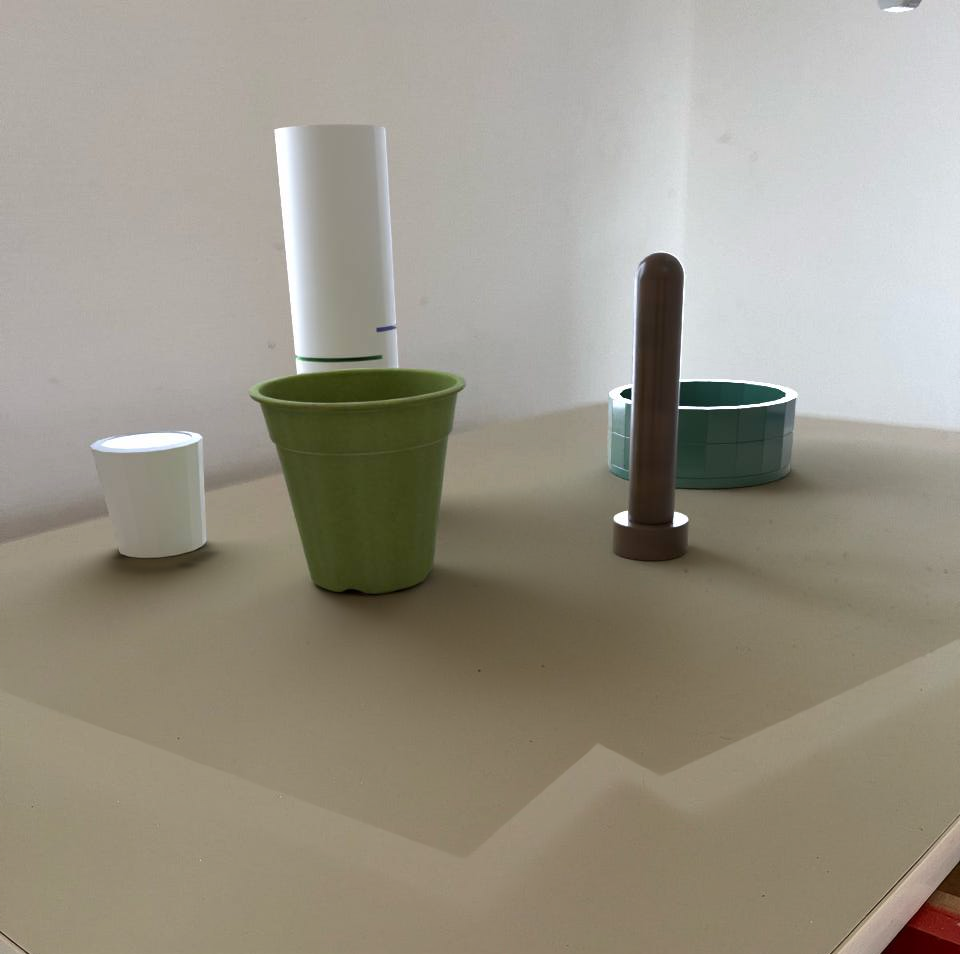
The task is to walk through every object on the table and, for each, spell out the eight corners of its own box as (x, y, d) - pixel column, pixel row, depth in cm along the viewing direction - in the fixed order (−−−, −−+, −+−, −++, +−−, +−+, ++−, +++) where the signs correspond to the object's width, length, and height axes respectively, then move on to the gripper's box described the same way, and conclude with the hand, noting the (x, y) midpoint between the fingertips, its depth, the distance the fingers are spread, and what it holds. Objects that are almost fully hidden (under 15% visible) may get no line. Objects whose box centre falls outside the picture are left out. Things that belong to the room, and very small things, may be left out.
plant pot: (227, 590, 59) (201, 391, 55) (359, 537, 68) (346, 363, 64) (388, 627, 53) (374, 407, 49) (510, 564, 62) (507, 373, 58)
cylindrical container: (425, 499, 77) (407, 128, 68) (366, 522, 72) (337, 122, 62) (350, 488, 81) (324, 135, 71) (289, 510, 75) (251, 130, 66)
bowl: (690, 441, 94) (694, 374, 92) (827, 467, 83) (835, 392, 81) (571, 466, 86) (572, 393, 84) (705, 499, 75) (710, 416, 73)
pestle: (648, 534, 67) (659, 249, 60) (702, 550, 64) (719, 250, 57) (597, 548, 65) (602, 253, 58) (650, 565, 61) (662, 253, 55)
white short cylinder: (158, 566, 64) (140, 454, 61) (85, 551, 67) (66, 444, 64) (237, 538, 69) (224, 433, 66) (166, 525, 72) (151, 425, 70)
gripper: (1027, -231, 60) (988, 38, 66) (812, -325, 49) (786, 10, 54) (1143, -271, 56) (1092, 23, 61) (935, -384, 44) (894, -12, 50)
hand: (946, 17), depth 58 cm, fingers open, 8 cm apart
